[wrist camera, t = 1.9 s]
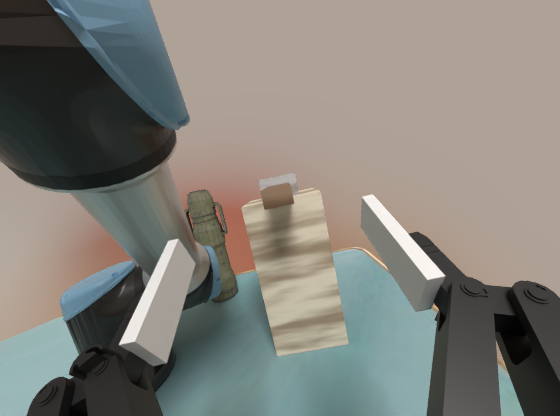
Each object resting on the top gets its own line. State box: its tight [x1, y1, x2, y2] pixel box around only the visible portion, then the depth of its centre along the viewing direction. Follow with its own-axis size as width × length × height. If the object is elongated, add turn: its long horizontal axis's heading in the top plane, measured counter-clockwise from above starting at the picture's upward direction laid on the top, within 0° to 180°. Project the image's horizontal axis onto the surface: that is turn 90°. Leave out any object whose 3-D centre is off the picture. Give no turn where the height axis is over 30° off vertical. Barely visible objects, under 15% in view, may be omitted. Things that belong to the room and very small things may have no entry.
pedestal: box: [242, 188, 348, 356], centre depth 43 cm, size 10×14×30 cm
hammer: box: [259, 173, 299, 210], centre depth 36 cm, size 19×7×4 cm, turn 179°
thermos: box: [185, 190, 238, 302], centre depth 67 cm, size 9×12×35 cm
